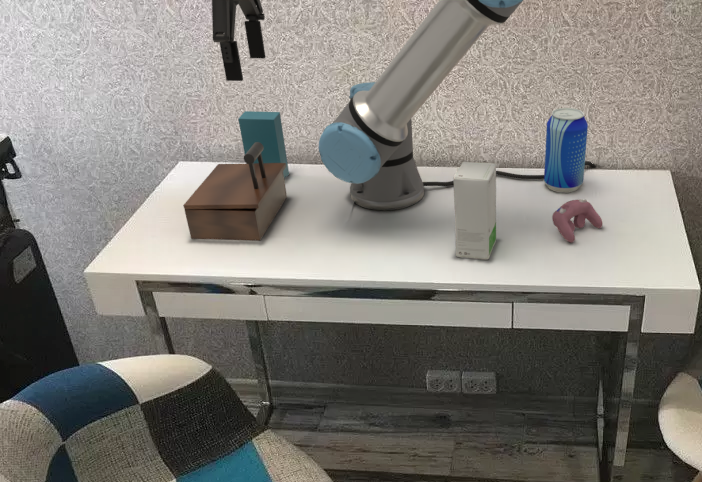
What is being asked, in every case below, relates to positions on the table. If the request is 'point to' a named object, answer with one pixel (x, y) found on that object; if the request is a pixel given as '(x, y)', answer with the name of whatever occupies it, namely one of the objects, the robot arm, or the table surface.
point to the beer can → (565, 150)
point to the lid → (237, 183)
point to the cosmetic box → (475, 209)
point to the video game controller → (575, 217)
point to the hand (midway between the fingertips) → (246, 68)
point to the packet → (264, 136)
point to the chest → (237, 218)
